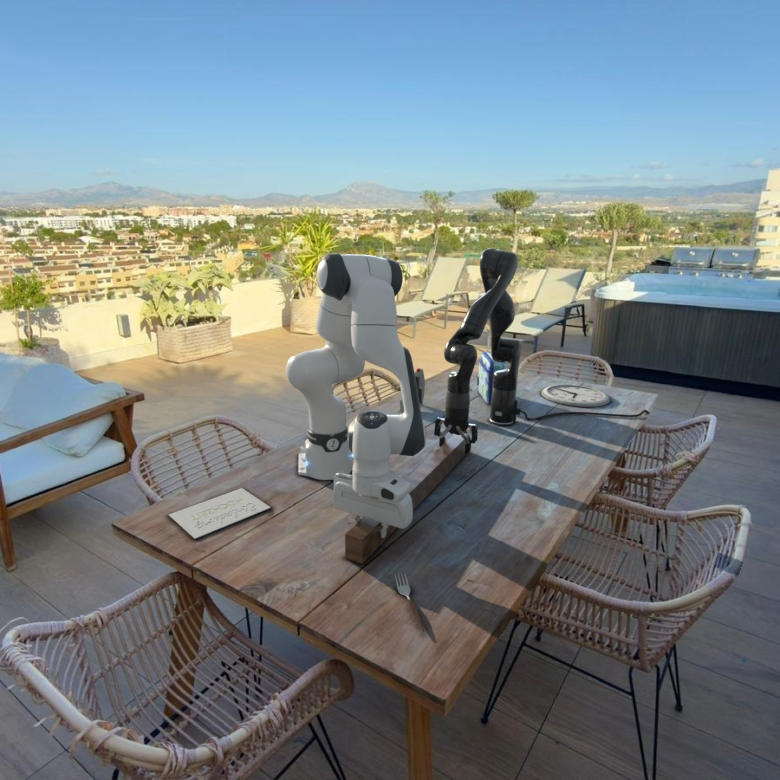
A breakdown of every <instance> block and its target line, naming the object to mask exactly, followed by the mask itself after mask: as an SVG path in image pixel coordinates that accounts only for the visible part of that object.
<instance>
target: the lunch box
mask: <svg viewBox="0 0 780 780" xmlns="http://www.w3.org/2000/svg"><path fill="white" fill-rule="evenodd" d="M509 366H510V365H509V363H501V362H496V361H494V360H493V359H492V356H491V351H482V352H481V354H480V358H479V360H478V377H477V381H476V384H477V385H476V386H478V393H479V395H480V396H481V397H482V399H483V400H484V402H485V404H487V405H488V406H489V405H490V406H491V398H492V385H493V374H494V372H495V371H497V370H501V369H505V368H508V367H509Z"/></svg>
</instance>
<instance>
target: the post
mask: <svg viewBox="0 0 780 780" xmlns="http://www.w3.org/2000/svg"><path fill="white" fill-rule="evenodd" d="M469 435H470V436H471V434H470V433H469ZM465 444H466V442H465V440H464V439H463V438H462V437H461V435H456V434H452V436H450V437H449V438H448V439H447V440H445V443H444V444H443V445H442V446H441V447H440V446H439V448H438V449H436V450H435V451H434V452H433V453H431V455H430V456H429V457H428V458H427V459H426V460H425V461H423V462H422V463H421V464H420V465H419V466H418V467H417V468H416V469H414V470H413V471H412V472H411V473H410V474H409V475H408V476H406V478H404V480H406V481H407V482H409V483H410V490H409V491H408V494H409V495H410V496H411V499H412V506H413V511H414V510H415V509H416V508H417V507H418V506H419V505H420V504H421V503H422V501H424V500H425V498H426V497H428V495H429V494H430V493H431V492H432V491H433V490H434V489H435V488H436V487H437V486H438V485H439V484H440V482H442V480H444V479H445V477H446V476H448V474H449V473H450V472H451V471H452V470H453V469H454V468H455V466H457V465H458V463H459V462H461V460H462V459H463V458H464V457H466V455H467V454H465ZM381 527H382V528H383V527H384V526H382V523H381V522H378V521H374V520H371V519H368V518H364V517H361V520H360V521H359V522H358V523H357V524H354V525H353V526H352V527H351V528H350V529H349V530H347V532H346V533H344V554H345V556H344V558H345V559H346V560H349V561H352V562H355V563H357V564H360V565H363V564H364V563H365V562H366V561H367V560H368V559H369V558H370V557H371V556H372V555H373V553H375V551H377V549H379V548H380V546H381V545H382V544H384V542H385V541H386V540H387V539H388V537H390V536H391V535H392V533H393V532H394V531H395V530H397V528H398V527H394V526H391V525H389V527H388V528H387V529H386V536H385V537H384V538H381V537H378V530H379V529H380V528H381Z"/></svg>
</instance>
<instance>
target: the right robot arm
mask: <svg viewBox="0 0 780 780" xmlns="http://www.w3.org/2000/svg"><path fill="white" fill-rule="evenodd" d="M518 267H519V258H518V255H517V254H516V253H515V252H512V251H508V250H505V249H497V248H493V247H492V248H491V247H490V248H486V249H484V250H483V252H482V253H481V255H480V259H479V273H480V278H481V281H482V285H483V289H484V294H483V295H482V296H480V297H479V298H478V299H476V300H475V301H474V302H473V303H472V304H471V305H470V306H469V308H468V309H467V311H466V313H465V315H464V318H463V320H462V322H461V324H460V326H459V328H458V329H457V330H456V331H455V333H454V334H453V335H452V336H451V337H450V339H449V340H448V341H447V343H446V344H445V347H444V349H443V358H444V359H445V361H446V362H447V363H449V364H452V365H455V366H459V368H458V370H454V371H450V372H449V374H448V375H447V385H446V386H447V390H446V395H445V411H444V418H442V417H441V416H438V417H437V418H436V419H435V420H434V431H433V435H434V436H435V437H438V438H439V439H438V440H439V442H438V443H439V444H438V446H439V448H440V447H441V446H442V445H443V444H444V443H445V442H446V435H447V434H448V433H449V434H451V435H454V434H456V435H461V437H462V438H463V439H464V440H465V442H466V444H465V454H466V455H468V454H469V453H471V450H472V444H476V442H477V441H478V438H479V437H478V434H479V433H478V429H479V424H478V423H474V424H473V423H470V422H469V414H470V404H471V401H470V399H471V397H470V396H471V394H470V387H471V378H472V375H473V373H474V369H475V368H476V364H477V361H478V350H477V349H476V347H475V346H474V345H473V344H471V343H468V342H470V341H477V340H479V339H480V338H481V337H482V335H483V333H484V331H485V330H484V329H485V328H486V325H487V323H488V326H489V333H490V352H491V356H492V359H493V360H494V361H496V362H501V363H508V366H509V367H508V368H505V369H501V370H497V371H495V372H494V374H493V385H492V398H491V404H490V410H489V411H490V413H489V414H490V415H489V422H490V423H491V424H494V425H497V426H511V425H513V424H516V423H517V416H520V415H521V413H522V414H523V415H524V418H525V419H526V420H527V421H537V420H541V419H544V418H550V417H554V416H561V415H593V416H606V417H607V416H608V417H621V418H622V417H623V418H637V417H640V416H642V415H643V414H644V413H645V414H650V412H649V411H648V410H647V409H643V410H641V411H640V413H638V414H621V413H605V412H590V411H563V412H555V413H551V414H546V415H540V416H537V417H533V418H530V417H528V416H529V415H528V414H527V412H525V411H524V410H523V409H522V408H521V407H520V406H518V399H517V388H518V377H519V370H520V369H519V367H520V361H521V353H522V343H521V341H520V340H519V339H515V338H504V337H502V336H503V334H504V333H505V332H506V331H507V330H508V329H509V328H510V327H511V325H512V324H513V323H514V320H515V316H516V315H515V303H514V300H513V298H512V297H511V295H510V293H509V292H508V290H507V288H508V287H509V285H510V283H511V282H512V280H513V278H514V276H515V275H516V272H517V269H518ZM442 425H444V426H445V428H444V430H443V431H442V430H441V428H442ZM468 428H469V431H470V432H471V434H470V433H469V431H468ZM469 434H470V435H469Z"/></svg>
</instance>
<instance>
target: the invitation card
mask: <svg viewBox="0 0 780 780" xmlns="http://www.w3.org/2000/svg"><path fill="white" fill-rule="evenodd" d="M269 509H271V506H270V505H268V504H267V503H265V502H264V501H262V500H261V499H259V498H258V497H256V496H255V495H253V494H252V493H250V492H249V491H247V490H246V489H244V488H243V487H239V488H238V489H234V490H233V491H229V492H227V493H224V494H221V495H219V496H216V497H213V498H210V499H207V500H204V501H202V502H199V503H196V504H194V505H191V506H187V507H186V508H182V509H180V510H177V511H174V512H172V513H169V514H168V516H169V517H170V519H172V520H173V522H175V523H176V524H177V525H178V526H179V527H181V528H182V529H183V530H184V532H186V533H187V534H188V535H190V537H191V538H193V539H194V540H196V539H199V538H201V537H204V536H207V535H208V534H211V533H214V532H216V531H218V530H220V529H223V528H225V527H228V526H231V525H233V524H235V523H239V522H240V521H243V520H246V519H247V518H250V517H252V516H254V515H257V514H260V513H263V512H265V511H267V510H269Z"/></svg>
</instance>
